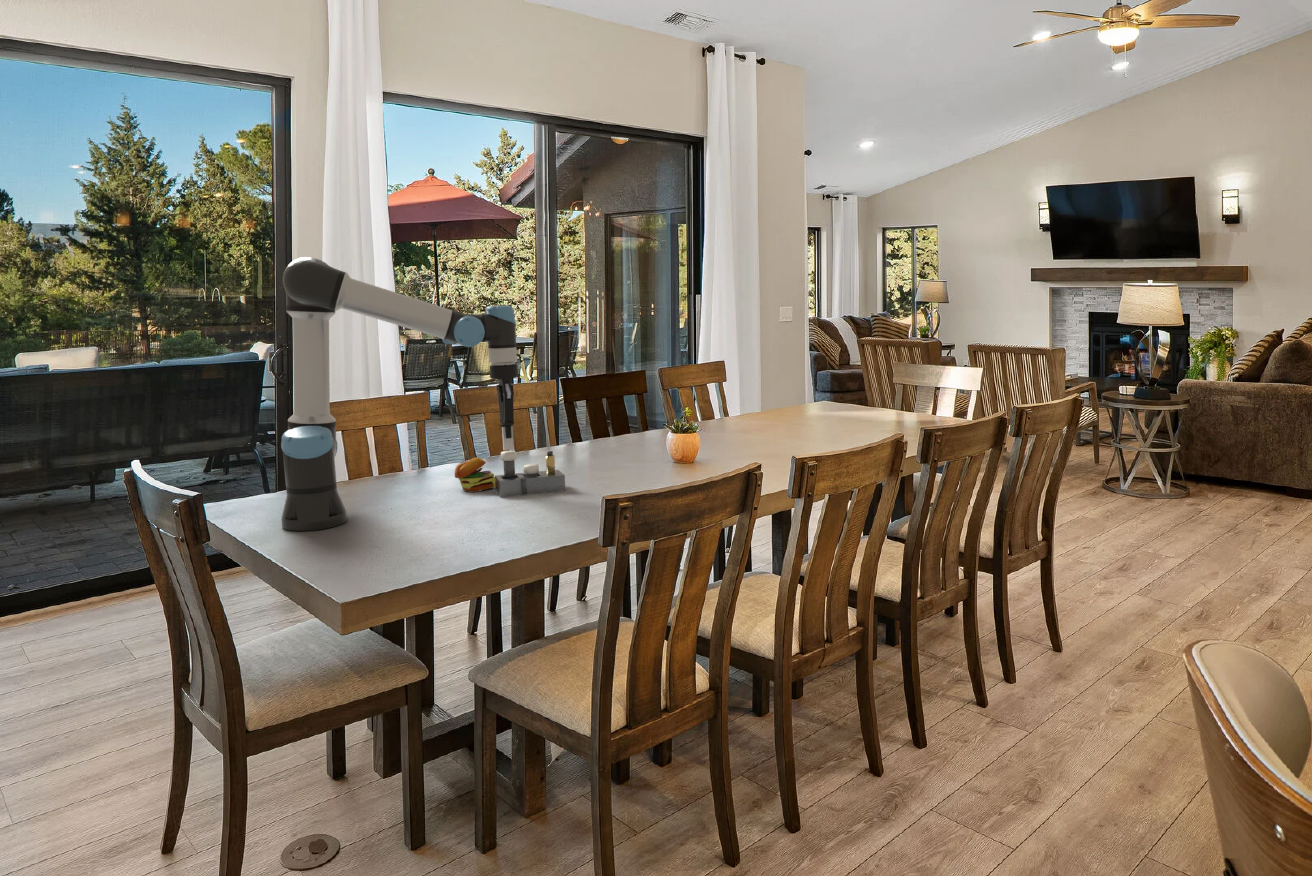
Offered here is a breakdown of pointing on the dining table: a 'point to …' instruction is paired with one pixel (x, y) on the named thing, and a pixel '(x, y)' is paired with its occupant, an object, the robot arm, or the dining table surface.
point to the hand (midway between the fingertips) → (508, 449)
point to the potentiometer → (550, 463)
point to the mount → (529, 484)
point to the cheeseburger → (474, 476)
